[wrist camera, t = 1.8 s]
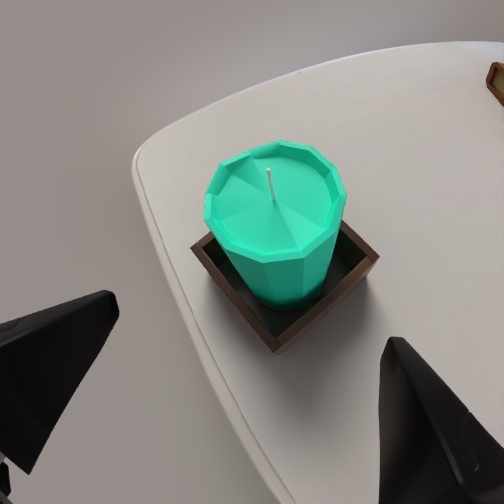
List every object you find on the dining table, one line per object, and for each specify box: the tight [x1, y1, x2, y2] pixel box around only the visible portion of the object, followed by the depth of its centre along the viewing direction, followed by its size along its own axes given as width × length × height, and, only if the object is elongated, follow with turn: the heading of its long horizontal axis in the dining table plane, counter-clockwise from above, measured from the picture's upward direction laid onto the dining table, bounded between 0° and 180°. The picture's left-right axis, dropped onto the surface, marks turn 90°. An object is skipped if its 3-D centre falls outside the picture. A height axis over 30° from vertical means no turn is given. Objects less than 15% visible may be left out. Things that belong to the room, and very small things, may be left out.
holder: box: [190, 219, 380, 354], centre depth 19 cm, size 9×9×4 cm
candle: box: [204, 140, 347, 312], centre depth 15 cm, size 6×6×12 cm
